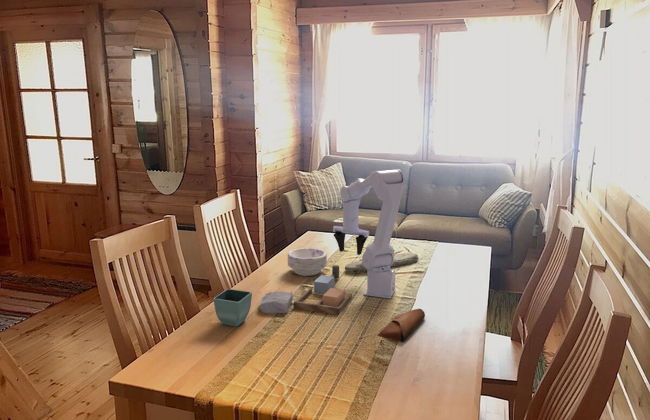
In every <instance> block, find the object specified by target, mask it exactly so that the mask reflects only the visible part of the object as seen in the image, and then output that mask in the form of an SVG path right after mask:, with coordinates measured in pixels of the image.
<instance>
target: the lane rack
mask: <svg viewBox="0 0 650 420" xmlns="http://www.w3.org/2000/svg"><path fill="white" fill-rule="evenodd" d="M311 295H313V288H308V289H307V290H306V291H305V292H304V293H303V294H302V295H301V296H299V298H298V299H296V300H294V301H293V309H295V308H297V309H296V310H302V309H303V310H304V311H311V312H318V313H323V314H331V315H337V316H339V315H340V314H341V313H342V312H343V310H344V309H345V308H346V307H347V305H349V303H350V302H351V301H352V299H353V293H349V294H348V295H347V296H345V300H344V301H343V302H342V303H341V304H340V306H339V307H333V306H326V305H323V297H322V298H321V299H320V300H319V301H318V302H317V303H313V302H305V301H306V300H307V299H308V298H309V297H310V296H311ZM306 298H307V299H306ZM305 299H306V300H305ZM304 300H305V301H304ZM303 301H304V302H303ZM303 310H302V311H303Z"/></svg>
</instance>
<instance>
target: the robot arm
mask: <svg viewBox="0 0 650 420" xmlns="http://www.w3.org/2000/svg"><path fill="white" fill-rule="evenodd" d="M405 178H406V177H405V174H404V172H403V171H402V170H401V169H399V168H396V169H387V170H374V171H371V172H370V173H369V175H368V176H367V177H366V178H361V177H360V178H359V177H357V178H356V179H355V181H354V182H350V184H349V185H343V186H342V187H340V190H339V195H340V199H341V201H342V226H338V225H334V226H333V227H332V232H333V233H334V234H333V237H334V238H335V240H336V243H337V246H338V249H339V252H340V253H342V252H344V251H345V241H346V240H345V239H346V234H348V235H352V236H353V235H354V236H355V241H356V242H355V243H356V255H357V256H360V255H362V256H361V259H362V262H363V265H364V267H365V268H366V269H368V270H367V273H366V274H367V281H366V282H367V283H366V284H367V285H366V289H365V292H363V296H367V297H368V296H370V297H377V298H384V299H392V297H393V295H394V293H395V291H396V271H395V269H391V267H392V266H391V265H392V264H393V262H394V255H395V249H394V247H393V245H391V240H392V235H393V231H394V229H395V224H396V220H397V216H398V213H399V209H400V206H401V201H402V200H401V199H402V196H403V192H404V188H405V185H406V179H405ZM370 189H373V191H374V193H375V195H376V197H377V199H378V200H380V201H382V205H381V208H380V214H379V218H378V222H377V226H376V230H375V234H374V239H373V241H372V242H371V243H370V244H368V245H367V246H366V247H365V251H364V252H363V249H364V245H365V244H366V241H367V240H368V238H369V237H370V231H369V230H366V229H361V228H359V209H360V208H359V207H360V205H361V199H362V197H363V196H365V195H367V194H368V193H369V192H370ZM362 253H363V254H362Z"/></svg>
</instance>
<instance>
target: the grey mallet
mask: <svg viewBox="0 0 650 420" xmlns="http://www.w3.org/2000/svg"><path fill="white" fill-rule="evenodd" d="M331 271H332V273H331V275H324V274H321V275H320V276H319V277H318V278H316V279H315V280H314V281H313V290H314V291H313V294H314V293H315V294H316V295H321V294H322V295H321V296H323V295H324V294H325V293H326V292H327V291H328V290H329V289H330V288H335V280H337V279H340V266H339V264H334V265H332V267H331ZM315 294H314V295H315Z"/></svg>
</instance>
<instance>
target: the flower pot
mask: <svg viewBox="0 0 650 420" xmlns="http://www.w3.org/2000/svg"><path fill="white" fill-rule="evenodd" d="M252 296H253V292H252V291H246V290H240V289H233V288H227V289H225V290H223V291H222V292H220V293H219V294H217V295H216V296H214V297H213V299H212V300H213V305H214V311H215V314H216V317H217V318H218V320H219V321H220V323H221V324H222V325H225V326H231V327H235V328H236V327H238V326H239V327H240V325H241V324H242V323H243V322H244V321H246V319H247V317H248V315H249V314H250V310H251V306H252V300H253V299H252Z"/></svg>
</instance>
